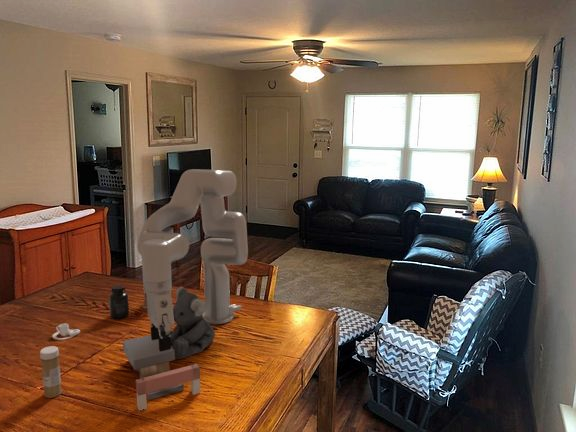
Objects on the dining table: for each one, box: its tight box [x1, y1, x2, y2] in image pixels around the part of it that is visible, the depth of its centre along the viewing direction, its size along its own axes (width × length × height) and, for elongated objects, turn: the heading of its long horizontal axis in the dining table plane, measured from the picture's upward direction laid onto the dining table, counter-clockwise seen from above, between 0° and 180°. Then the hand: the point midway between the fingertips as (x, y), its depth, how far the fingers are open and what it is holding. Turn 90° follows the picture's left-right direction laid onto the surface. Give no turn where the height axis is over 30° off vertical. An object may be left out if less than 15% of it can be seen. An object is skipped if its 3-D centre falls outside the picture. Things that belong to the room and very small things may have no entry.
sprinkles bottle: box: [39, 345, 63, 399], centre depth 133 cm, size 5×5×14 cm
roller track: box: [135, 361, 185, 401], centre depth 145 cm, size 10×25×4 cm, turn 31°
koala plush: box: [161, 286, 216, 360], centre depth 162 cm, size 17×18×20 cm
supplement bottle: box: [108, 284, 130, 321], centre depth 185 cm, size 7×7×12 cm
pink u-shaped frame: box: [135, 363, 201, 412], centre depth 132 cm, size 17×2×8 cm, turn 121°
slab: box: [122, 334, 176, 371], centre depth 148 cm, size 12×14×3 cm
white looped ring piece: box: [51, 322, 81, 341], centre depth 170 cm, size 9×8×4 cm
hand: (161, 343), depth 136 cm, fingers open, 6 cm apart
